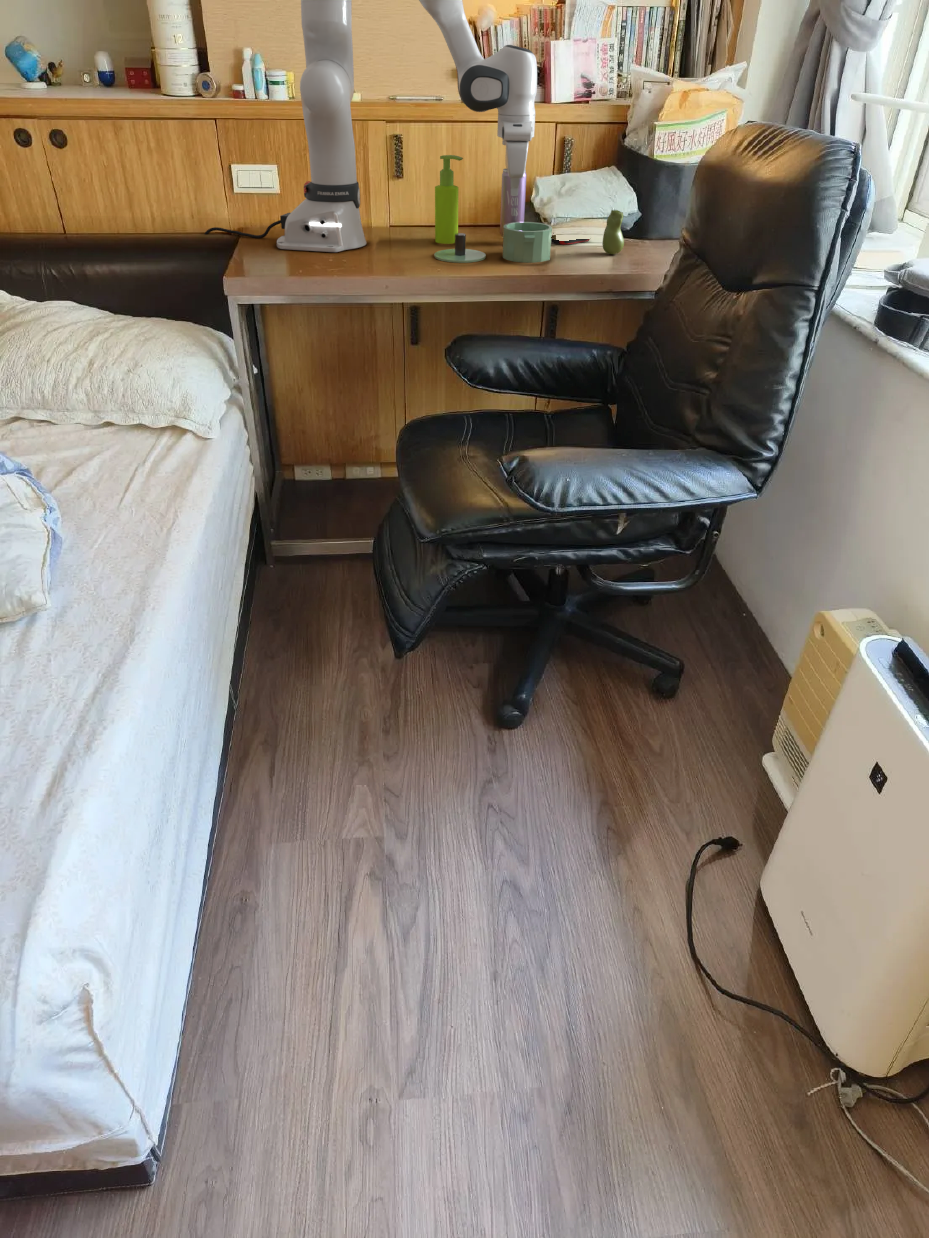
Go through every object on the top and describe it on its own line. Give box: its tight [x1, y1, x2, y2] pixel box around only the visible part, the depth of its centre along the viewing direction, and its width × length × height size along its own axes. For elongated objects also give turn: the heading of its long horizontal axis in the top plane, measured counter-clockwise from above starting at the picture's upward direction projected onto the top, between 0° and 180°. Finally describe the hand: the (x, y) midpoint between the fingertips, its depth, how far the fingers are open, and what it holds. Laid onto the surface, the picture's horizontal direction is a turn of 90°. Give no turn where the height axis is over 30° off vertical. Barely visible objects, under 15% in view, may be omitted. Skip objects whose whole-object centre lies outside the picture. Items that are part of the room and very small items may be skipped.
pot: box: [501, 221, 553, 264], centre depth 198 cm, size 11×17×7 cm
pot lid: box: [433, 232, 487, 264], centre depth 197 cm, size 12×12×6 cm
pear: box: [601, 209, 625, 255], centre depth 203 cm, size 6×5×10 cm
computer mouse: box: [551, 238, 591, 246], centre depth 216 cm, size 6×11×4 cm, turn 122°
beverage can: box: [499, 167, 527, 238], centre depth 205 cm, size 6×6×15 cm
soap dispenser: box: [434, 154, 464, 245], centre depth 207 cm, size 6×7×20 cm
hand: (513, 193), depth 204 cm, fingers closed on beverage can, 6 cm apart
